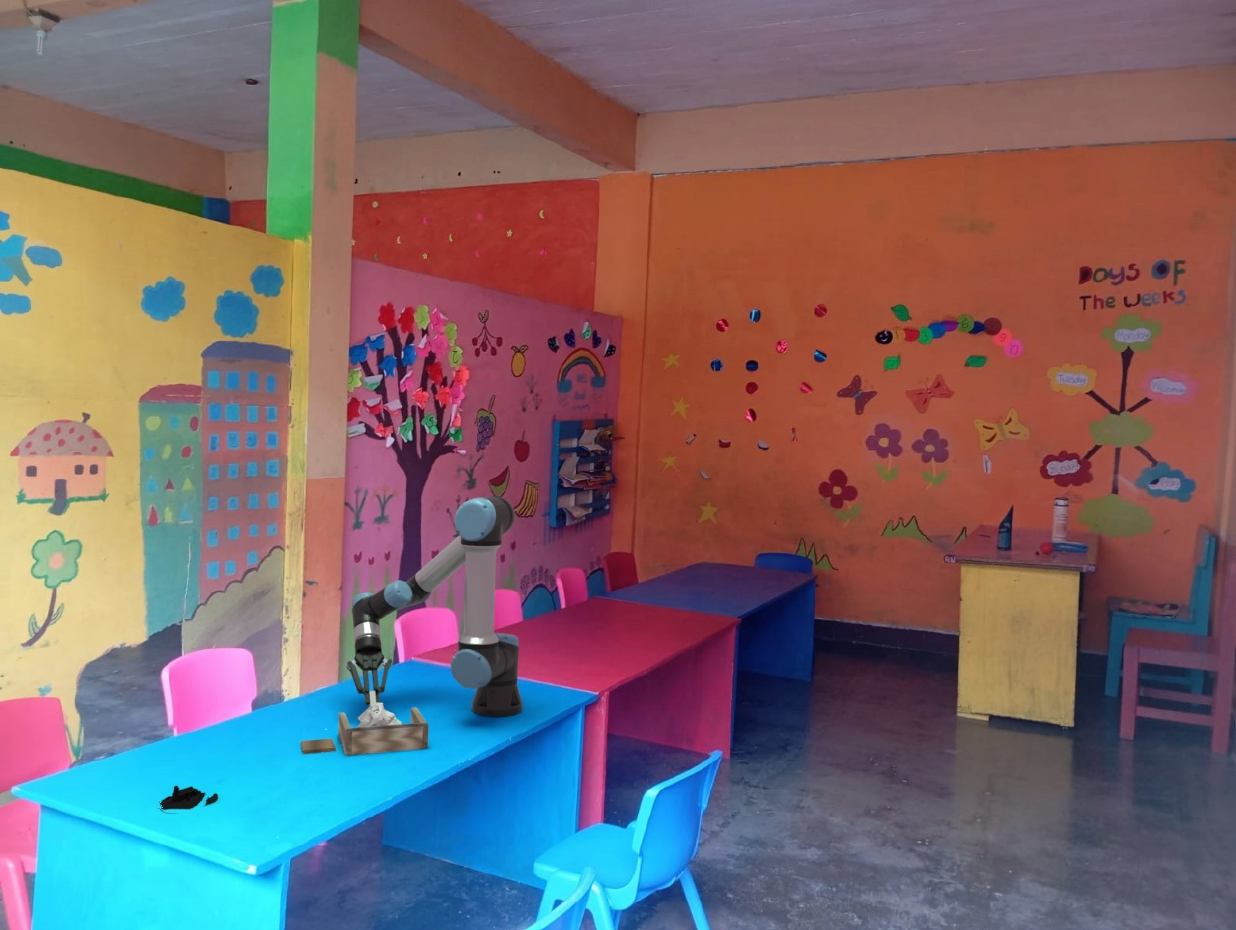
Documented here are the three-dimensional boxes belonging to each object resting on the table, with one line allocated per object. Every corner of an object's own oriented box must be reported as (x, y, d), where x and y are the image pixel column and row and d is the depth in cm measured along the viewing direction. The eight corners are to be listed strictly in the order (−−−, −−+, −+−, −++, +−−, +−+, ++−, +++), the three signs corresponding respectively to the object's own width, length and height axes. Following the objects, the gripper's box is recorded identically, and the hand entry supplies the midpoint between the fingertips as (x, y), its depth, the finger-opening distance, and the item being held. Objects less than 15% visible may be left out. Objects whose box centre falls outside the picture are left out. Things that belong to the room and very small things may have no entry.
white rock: (403, 730, 265) (377, 706, 263) (379, 754, 264) (353, 730, 262) (405, 717, 276) (380, 694, 275) (382, 741, 276) (357, 717, 274)
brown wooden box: (415, 728, 277) (416, 704, 277) (427, 748, 261) (428, 722, 260) (338, 734, 269) (339, 710, 269) (345, 755, 253) (346, 729, 253)
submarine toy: (173, 819, 211) (174, 796, 211) (146, 808, 216) (147, 786, 216) (223, 803, 221) (223, 781, 221) (196, 792, 226) (196, 771, 226)
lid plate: (331, 744, 263) (332, 738, 263) (335, 753, 256) (335, 747, 256) (300, 746, 260) (300, 740, 260) (303, 756, 253) (303, 750, 253)
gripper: (388, 647, 296) (395, 719, 281) (343, 649, 291) (348, 722, 276) (391, 633, 290) (398, 705, 276) (345, 635, 286) (350, 709, 271)
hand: (373, 714), depth 276 cm, fingers closed
